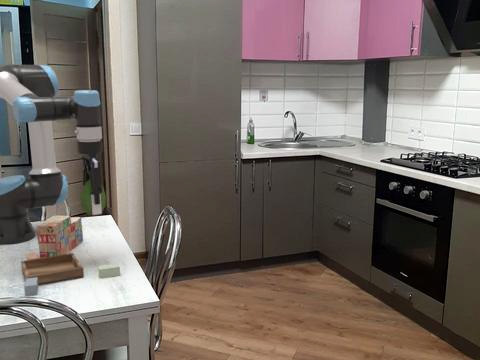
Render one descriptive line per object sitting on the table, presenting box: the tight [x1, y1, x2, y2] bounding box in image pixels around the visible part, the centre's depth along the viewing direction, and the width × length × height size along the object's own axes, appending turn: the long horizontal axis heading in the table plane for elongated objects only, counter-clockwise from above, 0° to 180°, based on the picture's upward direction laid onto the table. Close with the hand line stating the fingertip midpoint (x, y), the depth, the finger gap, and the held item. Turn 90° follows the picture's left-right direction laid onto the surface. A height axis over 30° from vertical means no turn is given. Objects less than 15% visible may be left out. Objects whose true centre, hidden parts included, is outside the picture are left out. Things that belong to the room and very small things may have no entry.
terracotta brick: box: [25, 252, 40, 260], centre depth 159 cm, size 6×3×3 cm, turn 29°
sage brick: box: [97, 263, 121, 279], centre depth 149 cm, size 6×3×3 cm, turn 112°
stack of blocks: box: [36, 215, 84, 258], centre depth 172 cm, size 21×6×12 cm, turn 175°
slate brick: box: [24, 277, 39, 297], centre depth 138 cm, size 6×3×3 cm, turn 19°
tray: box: [20, 252, 85, 287], centre depth 151 cm, size 16×16×3 cm
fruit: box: [80, 179, 107, 216], centre depth 157 cm, size 8×8×12 cm
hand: (93, 211), depth 158 cm, fingers closed on fruit, 8 cm apart
